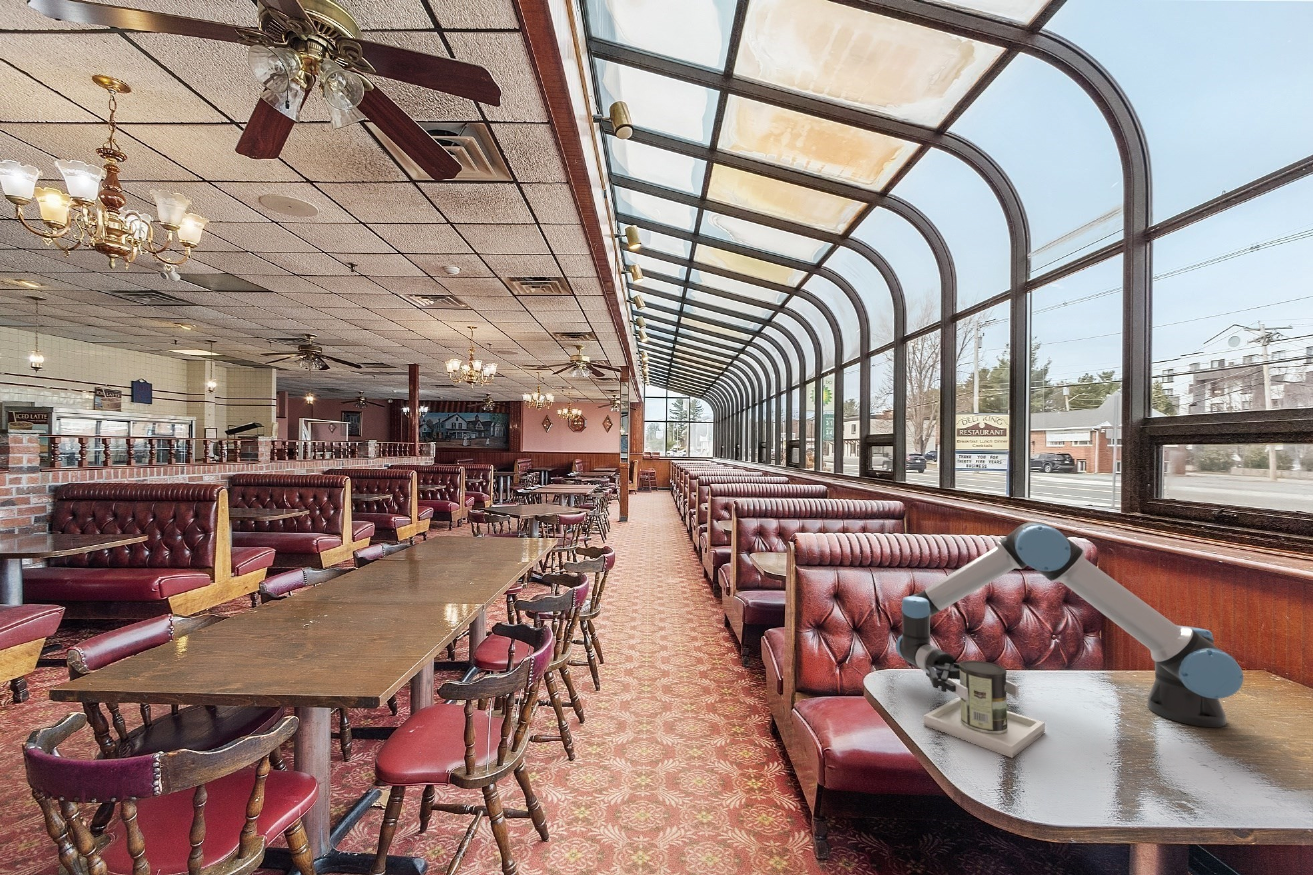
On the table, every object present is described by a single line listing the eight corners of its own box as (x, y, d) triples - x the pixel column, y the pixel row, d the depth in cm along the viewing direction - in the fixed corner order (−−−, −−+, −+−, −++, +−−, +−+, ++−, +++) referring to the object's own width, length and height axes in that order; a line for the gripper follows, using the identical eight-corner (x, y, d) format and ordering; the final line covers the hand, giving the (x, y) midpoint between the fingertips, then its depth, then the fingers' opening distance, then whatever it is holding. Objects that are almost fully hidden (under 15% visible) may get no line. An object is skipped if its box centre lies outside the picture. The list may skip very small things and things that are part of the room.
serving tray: (1044, 732, 139) (1044, 722, 140) (1012, 757, 127) (1012, 746, 127) (960, 705, 155) (959, 696, 155) (923, 725, 143) (923, 715, 143)
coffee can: (998, 717, 145) (997, 661, 146) (1015, 736, 135) (1013, 675, 136) (954, 713, 147) (953, 658, 148) (967, 731, 137) (966, 672, 138)
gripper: (977, 674, 161) (1038, 705, 140) (895, 678, 157) (945, 711, 137) (977, 647, 161) (1037, 674, 141) (895, 650, 158) (944, 679, 137)
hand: (992, 692), depth 138 cm, fingers open, 13 cm apart
